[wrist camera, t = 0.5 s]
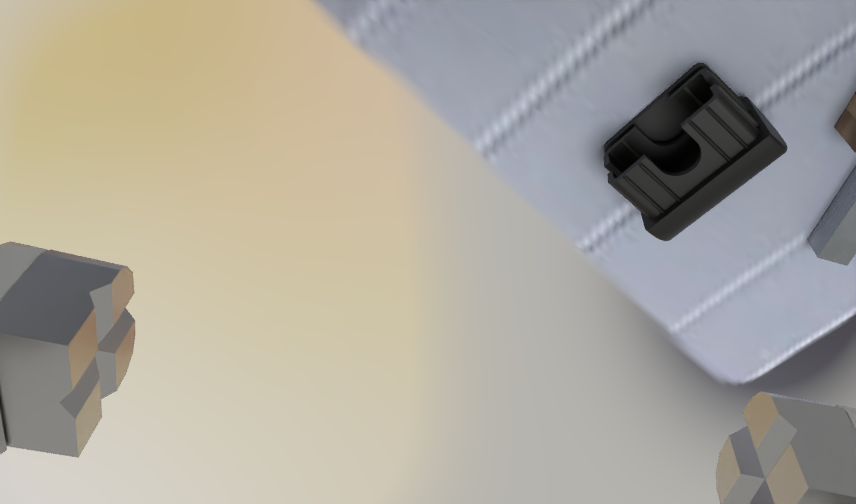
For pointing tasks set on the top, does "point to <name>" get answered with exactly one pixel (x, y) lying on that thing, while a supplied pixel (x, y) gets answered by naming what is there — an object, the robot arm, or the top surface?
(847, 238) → the steel shafts
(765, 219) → the top surface
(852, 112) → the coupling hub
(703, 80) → the end cap
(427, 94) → the top surface
